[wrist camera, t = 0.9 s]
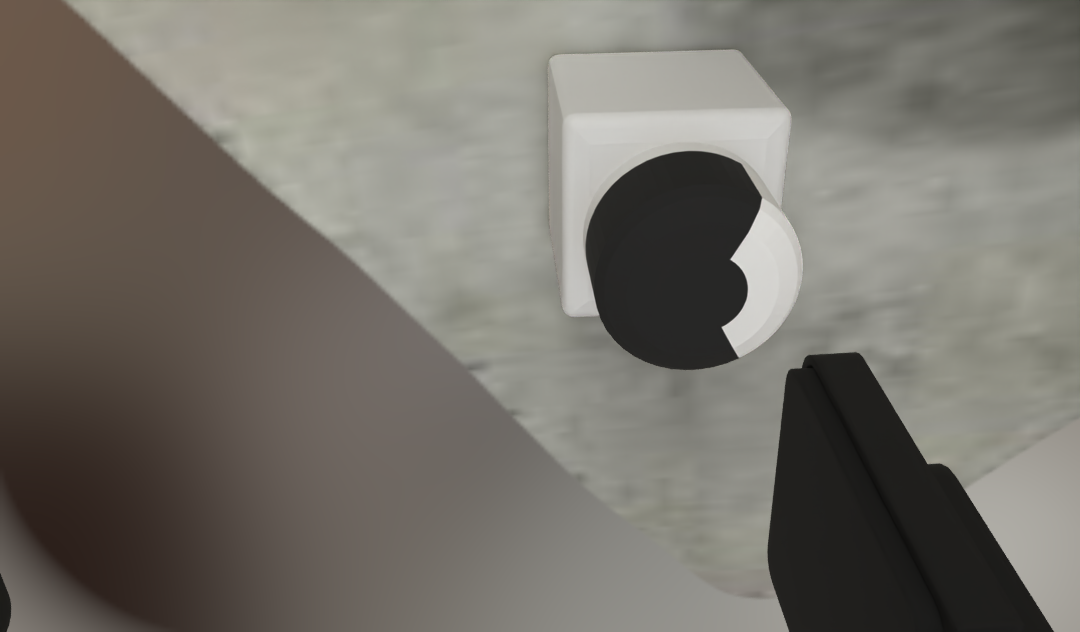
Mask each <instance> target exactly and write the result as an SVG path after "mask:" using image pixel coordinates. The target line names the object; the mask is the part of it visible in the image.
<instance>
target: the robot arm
mask: <svg viewBox="0 0 1080 632" xmlns="http://www.w3.org/2000/svg"><path fill="white" fill-rule="evenodd" d="M768 565H769V571H770V576H771V579H772V583H773V586H774V589H775V591H776V594H777V597H778V600H779V603H780V606H781V609H782V612H783V615H784V618H785V620H786V623H787V626H788V629H789V632H1054V631H1053V630H1052V628H1051V626H1050V625H1049V623H1048V622H1047V620H1046V619H1045V617H1044V615H1043V614H1042V612H1041V611H1040V609H1039V607H1038V606H1037V605H1036V603H1035V601H1034V600H1033V598H1032V596H1031V595H1030V593H1029V592H1028V590H1027V589H1026V587H1025V585H1024V584H1023V582H1022V581H1021V579H1020V578H1019V576H1018V574H1017V573H1016V571H1015V569H1014V568H1013V566H1012V565H1011V563H1010V562H1009V560H1008V558H1007V557H1006V555H1005V554H1004V552H1003V551H1002V549H1001V547H1000V546H999V544H998V542H997V541H996V539H995V538H994V536H993V535H992V533H991V531H990V530H989V528H988V527H987V525H986V524H985V522H984V520H983V519H982V517H981V516H980V514H979V513H978V511H977V509H976V508H975V506H974V504H973V503H972V501H971V500H970V498H969V497H968V495H967V493H966V492H965V490H964V489H963V487H962V485H961V484H960V482H959V481H958V479H957V478H956V476H955V475H954V474H953V473H952V471H951V470H950V469H949V468H948V467H946V466H944V465H942V464H927V462H926V461H925V459H924V458H923V456H922V454H921V453H920V451H919V449H918V448H917V446H916V444H915V443H914V441H913V439H912V438H911V436H910V434H909V433H908V431H907V429H906V428H905V426H904V424H903V423H902V421H901V419H900V418H899V416H898V414H897V413H896V411H895V410H894V408H893V406H892V405H891V403H890V401H889V400H888V398H887V396H886V395H885V393H884V391H883V390H882V388H881V386H880V385H879V383H878V381H877V380H876V378H875V376H874V375H873V373H872V371H871V370H870V368H869V366H868V365H867V363H866V362H865V360H864V358H863V357H862V356H861V355H860V354H859V353H856V352H854V353H837V354H819V355H808V356H807V357H806V358H805V360H804V362H803V365H802V368H800V369H790V370H789V371H788V374H787V377H786V384H785V393H784V402H783V411H782V421H781V430H780V439H779V448H778V457H777V466H776V475H775V485H774V494H773V503H772V512H771V521H770V530H769V540H768ZM10 618H11V602H10V597H9V594H8V592H7V589H6V587H5V584H4V582H3V579H2V577H1V574H0V632H7V629H8V626H9V622H10Z"/></svg>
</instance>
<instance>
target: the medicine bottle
mask: <svg viewBox="0 0 1080 632" xmlns="http://www.w3.org/2000/svg"><path fill="white" fill-rule="evenodd" d="M790 128H791V113H790V111H789V110H788V109H787V108H786V106H785V105H784V104H783V103H782V102H781V100H780V99H779V98H778V97H777V95H776V94H775V93H774V92H773V91H772V89H771V88H770V87H769V86H768V84H767V83H766V82H765V81H764V80H763V78H762V77H761V76H760V75H759V74H758V72H757V71H756V70H755V69H754V67H753V66H752V65H751V64H750V63H749V61H748V60H747V59H746V58H745V57H744V55H743V54H742V53H741V52H740V51H738V50H734V49H732V50H697V51H662V52H627V53H592V54H558V55H554V56H553V57H552V58H551V59H550V60H549V63H548V149H549V229H550V235H551V241H552V247H553V253H554V260H555V266H556V272H557V278H558V284H559V290H560V297H561V303H562V308H563V311H564V312H565V313H566V314H567V315H568V316H570V317H589V316H600V318H601V321H602V322H603V324H604V326H605V328H606V330H607V331H608V332H609V334H610V335H611V336H612V338H613V339H614V340H615V341H616V342H617V343H618V344H619V345H620V346H621V347H622V348H623V349H625V350H626V351H628V352H629V353H630V354H632V355H633V356H635V357H637V358H639V359H641V360H643V361H645V362H647V363H650V364H653V365H656V366H660V367H665V368H670V369H680V370H695V369H704V368H710V367H715V366H719V365H722V364H726V363H728V362H731V361H733V360H736V359H738V358H740V357H742V356H744V355H746V354H748V353H750V352H751V351H753V350H754V349H756V348H757V347H759V346H760V345H761V344H763V343H764V342H765V341H766V340H767V339H768V338H770V337H771V336H772V335H773V334H774V333H775V332H776V331H777V329H778V328H779V327H780V326H781V325H782V324H783V322H784V321H785V319H786V318H787V316H788V315H789V313H790V312H791V310H792V308H793V306H794V304H795V302H796V300H797V296H798V293H799V290H800V287H801V282H802V276H803V259H802V252H801V247H800V244H799V241H798V238H797V235H796V233H795V231H794V229H793V227H792V226H791V224H790V222H789V221H788V219H787V218H786V216H785V215H784V213H783V211H782V210H781V206H782V198H783V189H784V180H785V172H786V163H787V154H788V146H789V137H790Z"/></svg>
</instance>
